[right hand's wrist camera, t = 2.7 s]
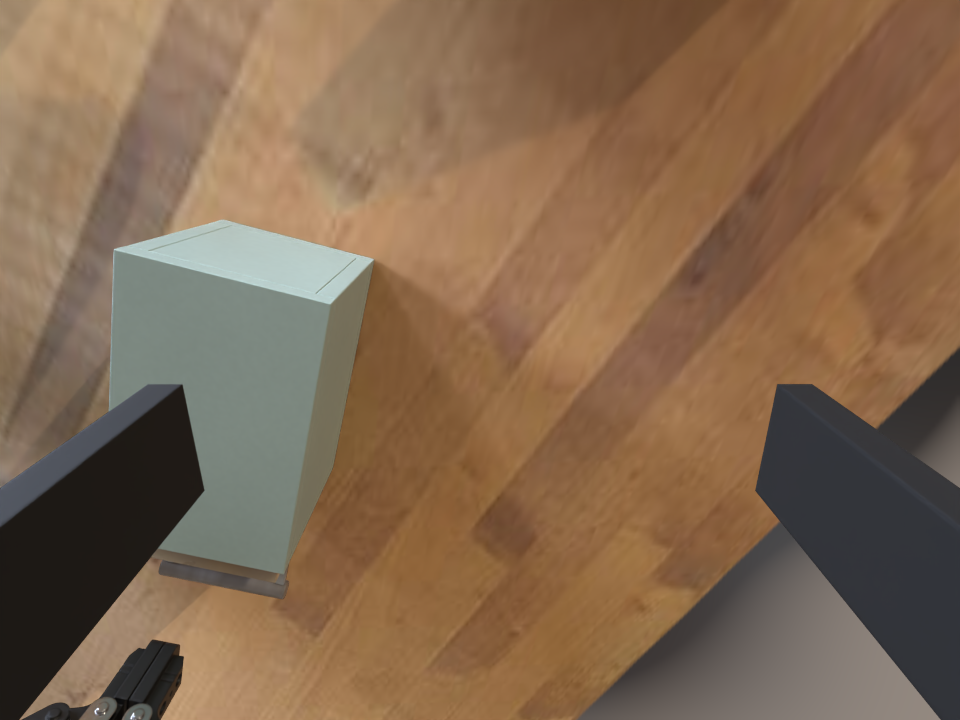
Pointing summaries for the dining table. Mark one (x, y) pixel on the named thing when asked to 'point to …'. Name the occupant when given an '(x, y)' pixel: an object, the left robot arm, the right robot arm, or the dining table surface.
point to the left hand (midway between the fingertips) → (166, 652)
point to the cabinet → (243, 373)
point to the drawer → (222, 574)
